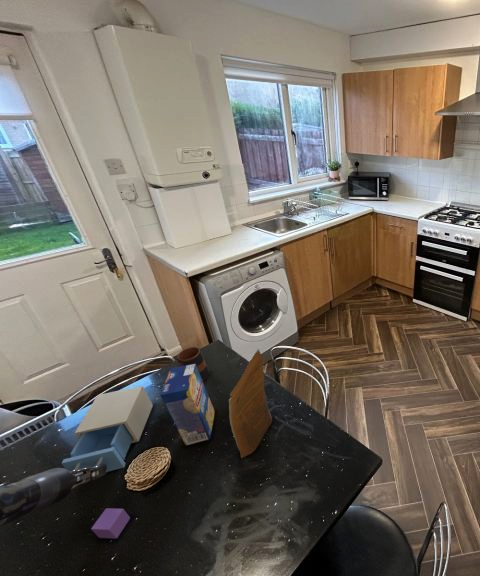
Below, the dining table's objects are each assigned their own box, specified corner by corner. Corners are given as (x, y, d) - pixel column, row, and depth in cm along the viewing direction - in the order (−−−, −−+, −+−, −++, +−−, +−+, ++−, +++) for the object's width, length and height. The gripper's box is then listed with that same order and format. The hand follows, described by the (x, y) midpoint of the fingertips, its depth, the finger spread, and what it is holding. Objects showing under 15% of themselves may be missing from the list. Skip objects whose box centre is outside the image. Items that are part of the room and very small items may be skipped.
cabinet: (138, 441, 96) (126, 421, 92) (89, 453, 93) (74, 433, 88) (153, 405, 109) (142, 385, 104) (110, 414, 105) (97, 394, 100)
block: (99, 538, 74) (90, 529, 72) (113, 517, 78) (106, 508, 76) (116, 538, 74) (108, 529, 72) (130, 517, 78) (123, 508, 76)
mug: (172, 387, 116) (160, 364, 110) (198, 366, 125) (189, 343, 120) (189, 393, 113) (178, 370, 107) (215, 371, 123) (206, 348, 117)
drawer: (117, 483, 85) (104, 467, 81) (66, 497, 81) (50, 481, 78) (140, 428, 100) (130, 411, 96) (97, 438, 97) (86, 421, 93)
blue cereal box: (214, 411, 106) (195, 363, 96) (210, 439, 97) (188, 389, 86) (192, 416, 104) (170, 368, 94) (185, 445, 95) (160, 395, 85)
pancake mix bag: (283, 411, 106) (268, 348, 92) (252, 465, 90) (228, 398, 76) (265, 408, 107) (248, 345, 94) (231, 461, 91) (204, 394, 77)
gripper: (78, 463, 70) (120, 448, 86) (-3, 483, 66) (56, 465, 82) (78, 499, 69) (121, 478, 84) (-6, 523, 65) (55, 496, 80)
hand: (89, 471), depth 83 cm, fingers closed on drawer, 6 cm apart
